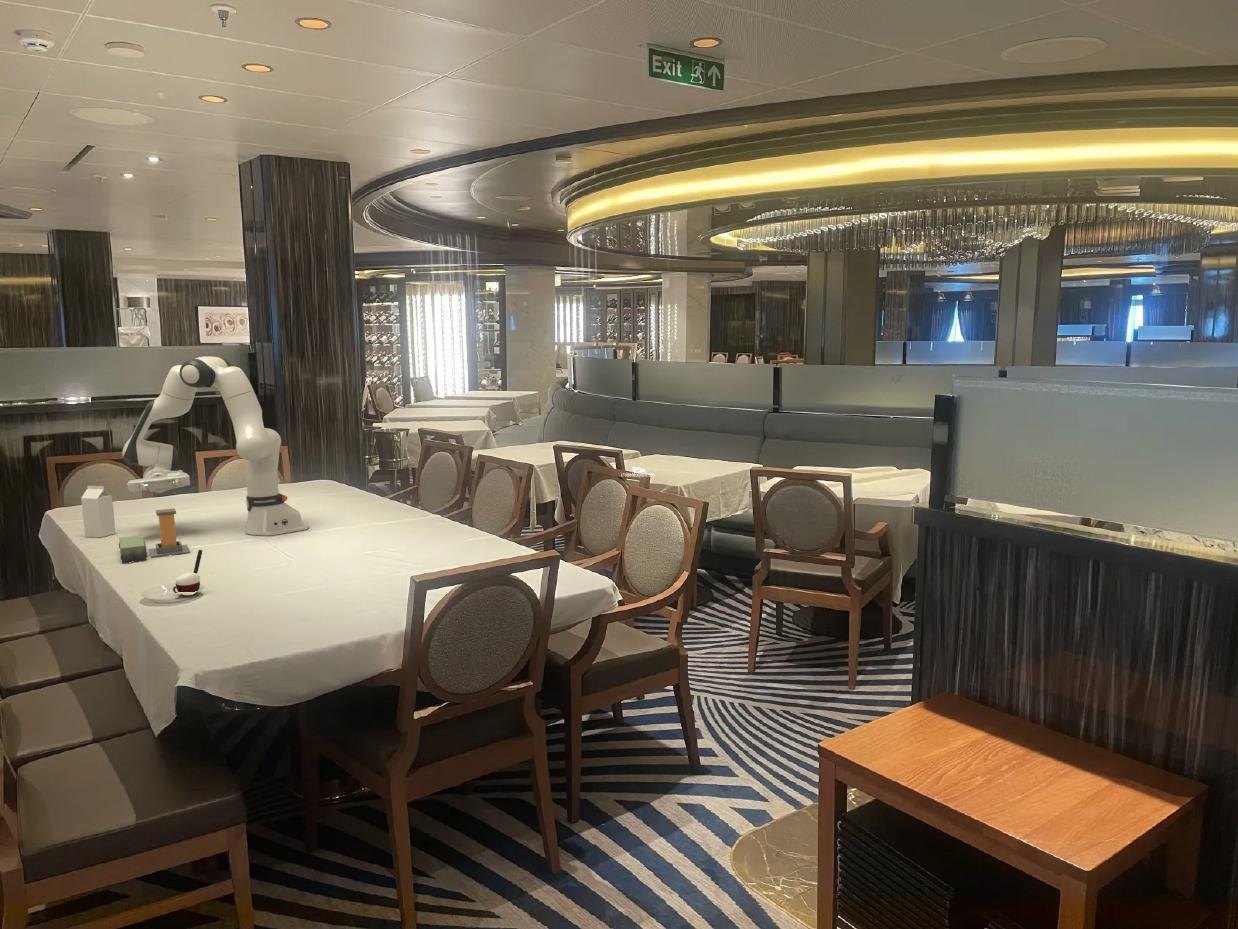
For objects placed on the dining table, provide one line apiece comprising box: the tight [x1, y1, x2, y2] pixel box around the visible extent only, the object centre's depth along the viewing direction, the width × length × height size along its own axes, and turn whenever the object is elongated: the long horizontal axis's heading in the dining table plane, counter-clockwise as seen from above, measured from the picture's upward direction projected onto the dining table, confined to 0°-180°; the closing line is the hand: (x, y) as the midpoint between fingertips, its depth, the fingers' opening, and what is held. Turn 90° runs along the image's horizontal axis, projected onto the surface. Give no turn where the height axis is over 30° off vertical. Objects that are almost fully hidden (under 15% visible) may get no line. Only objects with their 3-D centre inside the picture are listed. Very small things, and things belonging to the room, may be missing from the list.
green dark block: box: [118, 534, 148, 564], centre depth 294 cm, size 8×20×5 cm, turn 32°
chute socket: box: [148, 540, 191, 559], centre depth 299 cm, size 12×12×3 cm
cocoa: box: [172, 549, 203, 594], centre depth 249 cm, size 10×6×12 cm, turn 128°
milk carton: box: [80, 485, 117, 538], centre depth 323 cm, size 7×7×19 cm
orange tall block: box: [155, 507, 177, 548], centre depth 298 cm, size 6×6×14 cm
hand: (160, 485), depth 311 cm, fingers open, 8 cm apart
